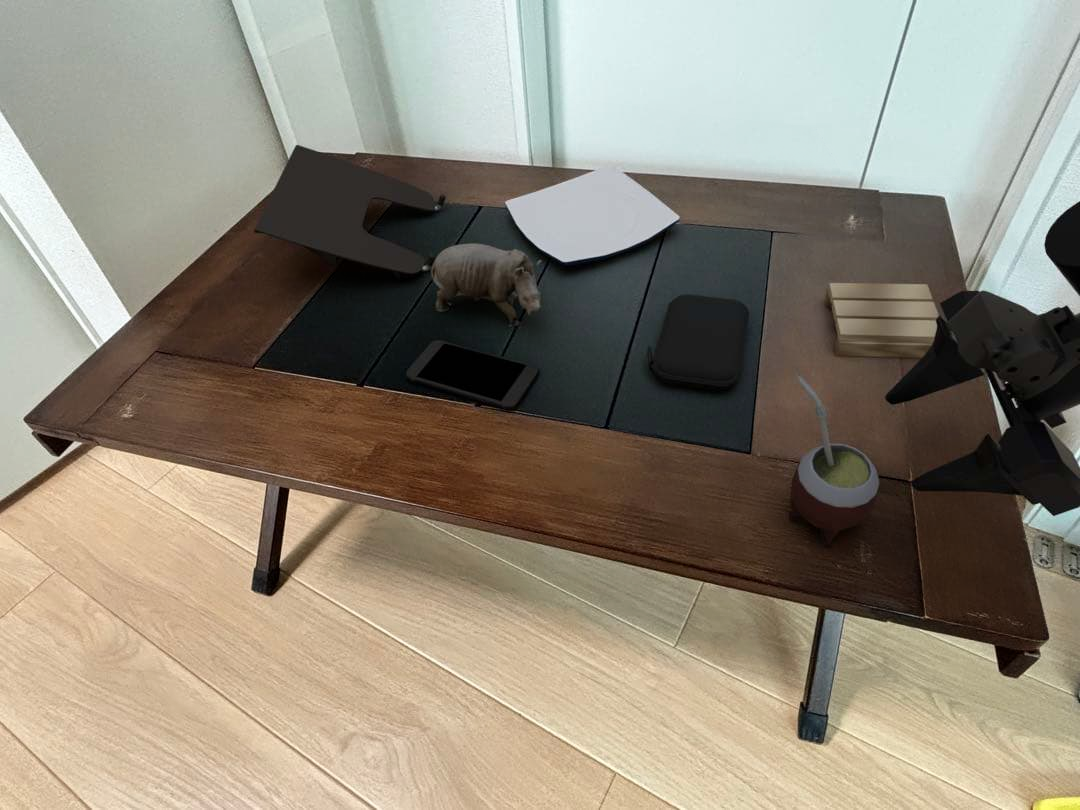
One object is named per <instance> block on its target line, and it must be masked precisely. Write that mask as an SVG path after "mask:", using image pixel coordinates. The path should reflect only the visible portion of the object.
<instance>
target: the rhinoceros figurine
mask: <svg viewBox="0 0 1080 810" xmlns="http://www.w3.org/2000/svg"><path fill="white" fill-rule="evenodd" d="M542 262H543V260H542V259H541V260H537V262H536V266H537V267H540V265H541V264H542ZM534 266H535V264H534V263H533V262H532V261H531V259H530V258H529V256H528V255H527V254H526V253H525V252H523V251H522V250H519V249H516V248H513V250H505V249H500V248H498V247H496V246H491V245H488V244H483V243H476V242H475V243H463V244H455V245H452V246H449V247H447V248H444V249H443V250H441V252H439V253H438V255H437V256H436V257H435V260H434V263H433V265H432V268H431V269H430V275H431V278H432V281H433V282H434V284H435V285H436V287H438V288H439V290H438V291H437V292H436V297H437V299H436V301H435V308H436V311H437V312H446V311H447V310H449V309H450V306H452V303H451V302H448V301H447V300H451V299H454V298H457V297H459V296H461V297H462V296H466V297H471V298H474V301H476V302H479V300H480V299H483V300H488V301H491V302H493V303H495V305H496V307H497V308H498V309H500V310H501V312H503V313H504V314H505V315H506V316H507V317H508V320H509V325H508V328H512V327H516V326H519V324H520V323H521V320H519V321H518V319H517V316H518V314H517V311H516V309H515V308H514V307H513V305H514V302H515V299H517V297H518V301H519V305H520V307H521V308H522V309H524V310H526V312H527V315H528V316H532V315H533V314H534V313H535V312H537V313H538V312H540V310H541V309H542V305H541V303H542V292H540V291H539V288H538V280H537V278H536V275H535V272H534V269H533V268H534Z"/></svg>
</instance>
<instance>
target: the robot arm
mask: <svg viewBox="0 0 1080 810" xmlns="http://www.w3.org/2000/svg"><path fill="white" fill-rule="evenodd" d="M1044 238H1045V239H1044V244H1043V245H1044V250H1045V251H1044V252H1045V254H1046V256H1047V257H1048V258H1049V260H1050V261H1051V263H1053V265H1054V266H1055V267H1056V268H1057V270H1058V271H1059V272H1060V273H1061V275H1062V276H1063V277H1064V279H1065V280H1066V281H1067V282H1068V284H1069V285H1070V286H1071V288H1073V289H1072V290H1074V292H1075V293H1076V294H1077V295H1078V296H1079V297H1080V200H1079V201H1077V202H1076V203H1075V204H1073V205H1071V206H1070V207H1069V208H1067V209H1066V210H1064V211H1063V212H1062V213H1061V214H1060V215H1059V217H1057V218H1056V219H1055V220H1054V222H1053V223H1052V224H1051V225H1050V227H1049V229H1048V231H1047V233H1046V235H1045V237H1044ZM939 305H940V307H941V310H942V312H943V314H944V317H945V318H944V317H943V316H942V315H940V314H938V315H939V316H938V317H937V319H936V323H937V329H936V334H935V338H934V342H933V344H932V346H931V347H930V349H929V350H928V351H927V352H926V354H925V355H924V356H923V357H922V358H919V360H918V361H917V362H916V363H915V365H913V367H912V368H911V369H910V370H908V372H907V373H906V374H905V375H903V376H902V378H900V380H899V381H898V382H897V383H896V384H895V385H894V386H893V387H892V388H891V389H890V390H889V391H888V392H887V393H886V394H885V396H884V398H885V401H886V402H887V403H888V404H889V405H891V406H895V405H899V404H902V403H908V402H910V401H914V400H916V399H919V398H922V397H925V396H928V395H931V394H934V393H936V392H940V391H942V390H946V389H948V388H949V389H950V388H951V387H955V386H957V385H961V384H963V383H966V382H969V381H972V380H974V379H977V378H980V377H983V376H985V375H986V376H987V378H988V381H989V382H990V385H991V388H992V389H993V392H994V394H995V396H996V398H997V400H998V404H999V405H1000V407H1001V410H1002V412H1003V414H1004V417H1005V419H1006V421H1007V423H1008V425H1009V427H1007V428H1005V430H1004V431H1003V434H1002V435H1001V437H1000V438H999V440H998V442H997V441H996V440H995V439H994V437H992V436H991V435H990V434H989V433H987V434H985V435H984V437H983V438H982V439H981V442H980V443H979V444H978V446H977V447H976V449H975V450H973V451H972V452H971V453H967V454H966V455H964V456H961V457H958V458H955V459H954V460H951V461H949V462H947V463H944V464H942V465H940V466H938V467H935V468H932V469H931V470H928V471H926V472H923V474H921V475H919V476H917V477H916V478H914V479H912V480H911V481H910V486H911V487H912V488H913V489H914V490H916V491H918V492H949V493H950V492H951V493H952V492H953V493H954V492H955V493H956V492H959V493H960V492H961V493H962V492H963V493H965V492H966V493H967V492H969V493H970V492H972V493H990V494H991V493H992V494H999V495H1011V496H1022V497H1023V498H1024V499H1025V500H1026V501H1027V502H1028V503H1029V504H1031V505H1032V506H1035V505H1039V504H1040V505H1041V506H1042V507H1043V508H1044V509H1045V510H1046V511H1047V512H1048V513H1049V514H1050V515H1052V517H1055V516H1058V515H1062V514H1064V513H1067V512H1070V511H1073V510H1075V509H1079V508H1080V465H1079V462H1078V461H1077V459H1076V456H1075V455H1074V453H1073V452H1072V450H1070V448H1068V446H1067V445H1066V444H1065V443H1064V442H1063V441H1062V440H1061V439H1060V438H1059V437H1058V436H1057V434H1055V433H1054V432H1053V430H1051V429H1054V428H1056V427H1059V426H1062V425H1063V424H1066V423H1067V420H1066V418H1065V417H1064V414H1063V412H1065V411H1067V410H1070V409H1073V408H1074V407H1077V406H1079V405H1080V312H1078V313H1076V314H1075V313H1074V312H1073V310H1071V308H1070V307H1069V305H1068V304H1067V305H1064V306H1062V307H1061V306H1058V307H1054V308H1052V309H1050V310H1048V311H1046V312H1044V313H1040V314H1037V313H1034V312H1033V311H1031V310H1030V309H1028V308H1027V307H1025V306H1023V305H1021V304H1019V303H1016V302H1014V301H1012V300H1009V299H1007V298H1005V297H1002V296H1000V295H997V294H995V293H993V292H990V291H987V290H961V291H959V292H957V293H955V294H953V295H951V296H950V297H948V298H946V299H944V300H942V301H941V302H939ZM1013 400H1014V401H1013ZM1016 406H1017V407H1016ZM1050 428H1051V429H1050Z"/></svg>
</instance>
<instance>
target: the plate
mask: <svg viewBox="0 0 1080 810" xmlns="http://www.w3.org/2000/svg"><path fill="white" fill-rule="evenodd" d="M504 205H505V207H506V210H507V211H508V213H509V215H510V217H511V218H512V221H513V222H514V224H515V226H516V227H517V229H518V230H519V231H520V233H521V234H522V235H523V237H524V238H525V239H526V240H527V241H528V242H529V243H531V245H533V246H534V248H536V249H537V250H538V251H539V252H540V253H542V254H543V255H546V256H547V257H549V258H550V259H552V260H553V261H556V262H558V263H559V264H561V265H563V266H566V267H570V266H571V267H572V266H575V265H580V264H586V263H591V262H597V261H600V260H605V259H609V258H611V257H614V256H616V255H619V254H622V253H625V252H628V251H630V250H633V249H634V248H637V247H639V246H642V245H644V244H647V243H649V242H650V241H651V240H653V239H655V238H656V237H658V236H660V235H661V234H663V233H664V232H666V231H667V230H669V229H670V228H672V227H673V226H675V225H676V224H677V223H679V222H680V220H681V216H680V215H678V214H677V213H676V212H675V211H673V210H672V209H671V208H670V207H668V206H667V204H665V203H664V202H663V201H662V200H660V199H659V198H658V197H656V196H655V195H654V194H652V192H650V191H649V190H648V189H646V188H645V187H643V186H642V185H641V184H639V183H638V182H636V180H634V179H632V178H631V177H630V176H628V174H626V173H625V172H623V171H622V170H620V168H617V166H615V165H614V164H607V165H606V166H603V167H601V168H600V167H599V168H597V169H595V170H593V171H590V172H588V173H584V174H581V175H579V176H576V177H573V178H571V179H568V180H566V181H563V182H559V183H557V184H555V185H551V186H548V187H545V188H542V189H540V190H537V191H533V192H530V193H526V194H523V195H521V196H518V197H515V198H511V199H508V200H506V201H505V202H504Z"/></svg>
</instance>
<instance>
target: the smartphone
mask: <svg viewBox="0 0 1080 810" xmlns="http://www.w3.org/2000/svg"><path fill="white" fill-rule="evenodd" d="M539 375H540V369H539V367H538V366H536V365H535V364H531V363H527V362H524V361H520V360H516V359H513V358H510V357H505V356H502V355H498V354H495V353H491V352H486V351H482V350H478V349H475V348H472V347H467V346H463V345H460V344H456V343H453V342H449V341H444V340H440V339H438V340H433V341H431V342H430V343H429V344H428V345H427V346H426V347H425V349H424V350H423V351H422V352H421V353H420V354H419V355H418V357H417V358H416V359H415V360H414V362H412V363H411V365H410V366H409V367H408V368H407V370H406V371H405V378H406V380H408V381H410V382H413V383H417V384H419V385H423V386H425V387H430V388H433V389H436V390H440V391H443V392H446V393H449V394H453V395H456V396H460V397H464V398H466V399H470V400H473V401H477V402H480V403H484V404H488V405H491V406H495V407H497V408H501V409H504V410H513V409H516V408H517V407H518V406H519V404H520V403H521V402H522V400H523V399H524V397H525V396H526V394H527V393H528V391H529V390H530V389H531V387H532V386H533V383H535V381H536V380H537V378H538V376H539Z"/></svg>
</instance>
